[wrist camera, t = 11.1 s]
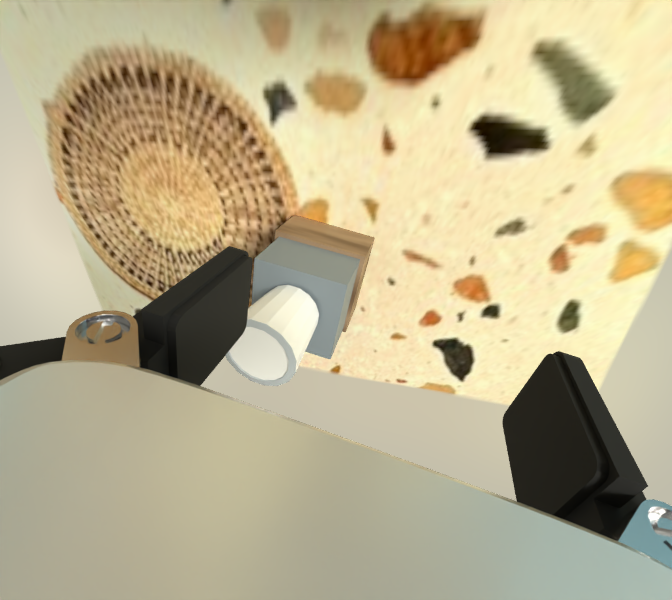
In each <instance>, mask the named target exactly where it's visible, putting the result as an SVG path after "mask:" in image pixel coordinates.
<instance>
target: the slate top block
mask: <svg viewBox="0 0 672 600" xmlns="http://www.w3.org/2000/svg"><path fill="white" fill-rule="evenodd" d="M359 263H360V259H357V258H354V257H350V256H347V255H343V254H340V253H336V252H333V251H329V250H325V249H322V248H318V247H315V246H311V245H308V244H304V243H301V242H297V241H293V240H290V239H286V238H283V237H278V238H277V239H276V240H275V241H274V242H273V243H272V244H270V245H269V246H268V247H267V248H266V249H265V250H264V251H262V252H261V253H260V254H259V255H258V256H257V257H256V258H255V261H254V276H253V291H252V305H253V304H254V303H255V302H257V301H258V300H259V299H260V298H262V297H263V296H264V295H265V294H267V293H268V292H269V291H270V290H272V289H274V288H275V287H277V286H281V285H290V286H294V287H297V288H300V289H301V290H303V291H304V292H306V293H307V294H309V295H310V297H311V298H312V299H313V301H314V302H315V303H316V306H317V309H318V312H319V318H318V324H317V326H316V328H315V330H314V333H313V335H312V337H311V339H310V342H309V344H308V346H307V348H306V350H305V352H309V353H312V354H315V355H318V356H321V357H324V358H327V359H331V357H332V354H333V352H334V349H335V347H336V345H337V342H338V340H339V337H340V335H341V333H342V330H343V328H344V324H345V320H346V316H347V312H348V308H349V304H350V299H351V295H352V291H353V287H354V283H355V279H356V275H357V271H358V267H359Z"/></svg>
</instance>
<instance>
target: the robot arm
mask: <svg viewBox="0 0 672 600" xmlns="http://www.w3.org/2000/svg"><path fill="white" fill-rule="evenodd" d="M251 273H252V258H251V257H248V253H247V252H246V251H243V250H240V249H237V248H234V247H230V246H229V247H227V248H226V249H225V250H223V251H222V252H220V253H219V254H218V255H216V256H215V257H213V258H212V259H211V260H209V261H208V262H206V263H205V264H204V265H202V266H201V267H200V268H198V269H197V270H195V271H194V272H193V273H191V274H190V275H188V276H187V277H186V278H184V279H183V280H182V281H180V282H179V283H177V284H176V285H175V286H173V287H172V288H170V289H169V290H168V291H166V292H165V293H163V294H162V295H161V296H159V297H158V298H157V299H155V300H154V301H152V302H151V303H150V304H148V305H147V306H145V307H144V308H143V309H141V311H140V312H139V313H137V314H136V315H134V316H133V317H132V316H131V315H129V314H127V313H124V312H119V311H100V312H94V313H91V314H88V315H85V316H83V317H81V318H79V319H77V320H76V321H74V322H73V323H72V324H71V325H70V326H69V329H68V331H67V334H66V337H61V338H54V339H48V340H41V341H34V342H27V343H21V344H14V345H6V346H0V600H672V506H670V505H668V504H666V503H664V502H661V501H658V500H654V499H652V500H646V498H645V496H644V494H643V492H642V491H643V490H644V489H645V488H646V487H648V485H647V483H646V481H645V479H644V477H643V476H642V474H641V472H640V470H639V468H638V466H637V464H636V462H635V460H634V458H633V457H632V455H631V453H630V451H629V449H628V447H627V445H626V443H625V441H624V439H623V438H622V436H621V434H620V432H619V430H618V428H617V426H616V424H615V422H614V421H613V419H612V417H611V415H610V413H609V411H608V409H607V407H606V405H605V404H604V401H603V400H602V398H601V396H600V394H599V392H598V390H597V388H596V386H595V384H594V382H593V380H592V379H591V377H590V375H589V373H588V371H587V369H586V367H585V365H584V363H583V361H582V360H581V359H580V358H578V357H575V356H572V355H569V354H566V353H563V352H559V351H558V352H555V353H554V354H548V355H546V357H545V358H544V359H543V361H542V362H541V363H540V365H539V366H538V367H537V369H536V370H535V372H534V373H533V374H532V376H531V377H530V379H529V380H528V381H527V383H526V384H525V386H524V387H523V388H522V390H521V391H520V393H519V394H518V395H517V397H516V398H515V400H514V401H513V402H512V404H511V405H510V407H509V408H508V410H507V411H506V413H505V414H504V417H503V429H504V434H505V440H506V445H507V451H508V456H509V461H510V467H511V472H512V477H513V483H514V488H515V494H516V499H517V502H516V501H514V500H511V499H508V498H506V497H503V496H500V495H498V494H495V493H492V492H489V491H487V490H484V489H481V488H479V487H476V486H473V485H471V484H468V483H465V482H463V481H460V480H457V479H455V478H452V477H449V476H447V475H444V474H441V473H439V472H436V471H433V470H431V469H428V468H425V467H422V466H420V465H417V464H414V463H412V462H409V461H406V460H403V459H401V458H398V457H395V456H392V455H390V454H387V453H384V452H382V451H379V450H376V449H373V448H370V447H368V446H365V445H362V444H360V443H357V442H354V441H351V440H349V439H346V438H343V437H341V436H338V435H335V434H332V433H329V432H327V431H324V430H321V429H318V428H316V427H313V426H310V425H307V424H305V423H302V422H299V421H296V420H294V419H291V418H288V417H285V416H283V415H280V414H277V413H274V412H271V411H269V410H266V409H263V408H260V407H258V406H254V405H252V404H249V403H246V402H244V401H241V400H238V399H235V398H232V397H230V396H227V395H224V394H221V393H218V392H215V391H213V390H210V389H207V388H204V387H201V386H200V385H201V384H202V383H203V382H204V381H205V379H206V378H207V377H208V376H209V374H210V373H211V372H212V371H213V370H214V368H215V367H216V366H217V365H218V364H219V362H220V361H221V360H222V359H223V358H224V356H225V355H226V354H227V353H228V351H229V350H230V349H231V348H232V347H233V345H234V344H235V343H236V342H237V341H238V339H239V338H240V337H241V336H242V334H243V333H244V331H245V329H246V325H247V316H248V305H249V295H250V284H251Z"/></svg>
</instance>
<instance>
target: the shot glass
mask: <svg viewBox="0 0 672 600" xmlns="http://www.w3.org/2000/svg"><path fill="white" fill-rule="evenodd" d="M318 318H319V312H318V309H317V306H316V303H315V302H314V301H313V299H312V298H311V297H310V295H309V294H307V293H306V292H304V291H303V290H301V289H300V288H297V287H294V286H290V285H281V286H277V287H275V288H274V289H272V290H270V291H269V292H268V293H267V294H265V295H264V296H263V297H262V298H260V299H259V300H258V301H257V302H255V303H254V304H253V305H252V306H250V307H249V308H248V316H247V325H246V329H245V331H244V333H243V334H242V336H241V337H240V338H239V339H238V341H237V342H236V343H235V344H234V345H233V347H232V348H231V349H230V350H229V351H228V353H227V354H226V355H225V356H226V358H227V360H228V361H229V363H230V364H231V365H232V366H233V367H234V368H235V369H236V371H237V372H239V373H240V374H242V375H243V376H245V377H246V378H248V379H249V380H251V381H253V382H257V383H259V384H262V385H268V386H269V385H270V386H278V385H281V384H284V383H286V382H288V381H289V380H290V379H291V378H292V377H293V375H294V374H295V373H296V370H297V368H298V366H299V364H300V362H301V359H302V357H303V355H304V353H305V350H306V348H307V346H308V344H309V342H310V339H311V337H312V335H313V333H314V330H315V328H316V326H317V324H318Z"/></svg>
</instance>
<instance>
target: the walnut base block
mask: <svg viewBox="0 0 672 600" xmlns="http://www.w3.org/2000/svg"><path fill="white" fill-rule="evenodd" d="M278 237H283V238H286V239H290V240H293V241H297V242H301V243H304V244H308V245H311V246H315V247H318V248H322V249H325V250H329V251H333V252H336V253H340V254H343V255H347V256H350V257H354V258H357V259H360V263H359V267H358V271H357V275H356V279H355V283H354V287H353V291H352V295H351V299H350V304H349V308H348V312H347V316H346V320H345V324H344V328H343V330H342V331H343V332H346V330H347V327H348V325H349V322H350V320H351V317H352V315H353V312H354V310H355V307H356V304H357V300H358V296H359V293H360V289H361V285H362V282H363V278H364V274H365V271H366V267H367V264H368V260H369V256H370V253H371V249H372V245H373V242H374V237H370V236H367V235H363V234H360V233H356V232H353V231H349V230H346V229H342V228H339V227H336V226H332V225H329V224H325V223H322V222H318V221H315V220H311V219H308V218H304V217H301V216H297V215H294V216H292V217H291V218H290V219H289V220H288V221H286V222H285V223H284V224H283V225H282V226H280V227H279V228H278V229H277V230H275V238H274V241H275V240H276V239H277V238H278Z"/></svg>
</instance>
